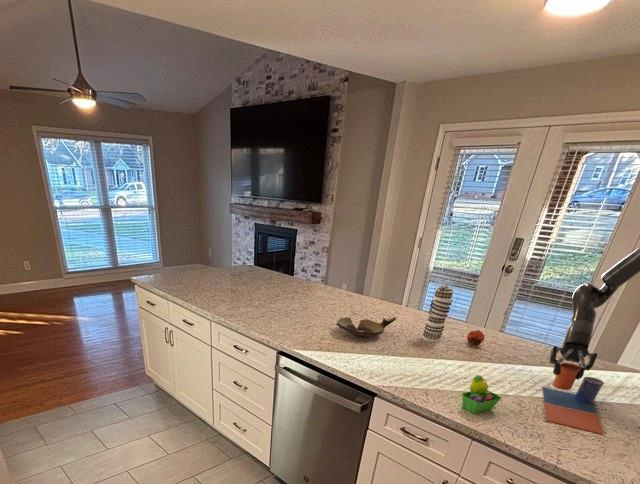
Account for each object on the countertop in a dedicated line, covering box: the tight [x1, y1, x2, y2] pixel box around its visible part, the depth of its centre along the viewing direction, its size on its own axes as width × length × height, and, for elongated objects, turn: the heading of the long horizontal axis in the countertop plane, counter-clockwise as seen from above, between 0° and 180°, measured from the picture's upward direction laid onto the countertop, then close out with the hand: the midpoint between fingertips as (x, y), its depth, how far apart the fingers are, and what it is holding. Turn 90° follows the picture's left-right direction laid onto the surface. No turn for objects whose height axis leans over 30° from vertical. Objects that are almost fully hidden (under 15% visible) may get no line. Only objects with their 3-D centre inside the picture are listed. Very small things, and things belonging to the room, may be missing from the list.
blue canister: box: [574, 376, 605, 404], centre depth 151 cm, size 6×6×8 cm
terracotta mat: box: [544, 402, 604, 436], centre depth 142 cm, size 16×14×1 cm
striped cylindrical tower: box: [422, 284, 455, 343], centre depth 197 cm, size 9×9×25 cm
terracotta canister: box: [551, 362, 581, 391], centre depth 151 cm, size 6×6×8 cm
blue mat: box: [542, 386, 598, 415], centre depth 153 cm, size 16×14×1 cm
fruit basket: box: [461, 374, 502, 414], centre depth 143 cm, size 11×9×11 cm
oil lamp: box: [335, 316, 397, 337], centre depth 204 cm, size 22×30×8 cm
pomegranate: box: [466, 329, 485, 347], centre depth 197 cm, size 7×7×10 cm
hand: (567, 376), depth 149 cm, fingers closed on terracotta canister, 6 cm apart
